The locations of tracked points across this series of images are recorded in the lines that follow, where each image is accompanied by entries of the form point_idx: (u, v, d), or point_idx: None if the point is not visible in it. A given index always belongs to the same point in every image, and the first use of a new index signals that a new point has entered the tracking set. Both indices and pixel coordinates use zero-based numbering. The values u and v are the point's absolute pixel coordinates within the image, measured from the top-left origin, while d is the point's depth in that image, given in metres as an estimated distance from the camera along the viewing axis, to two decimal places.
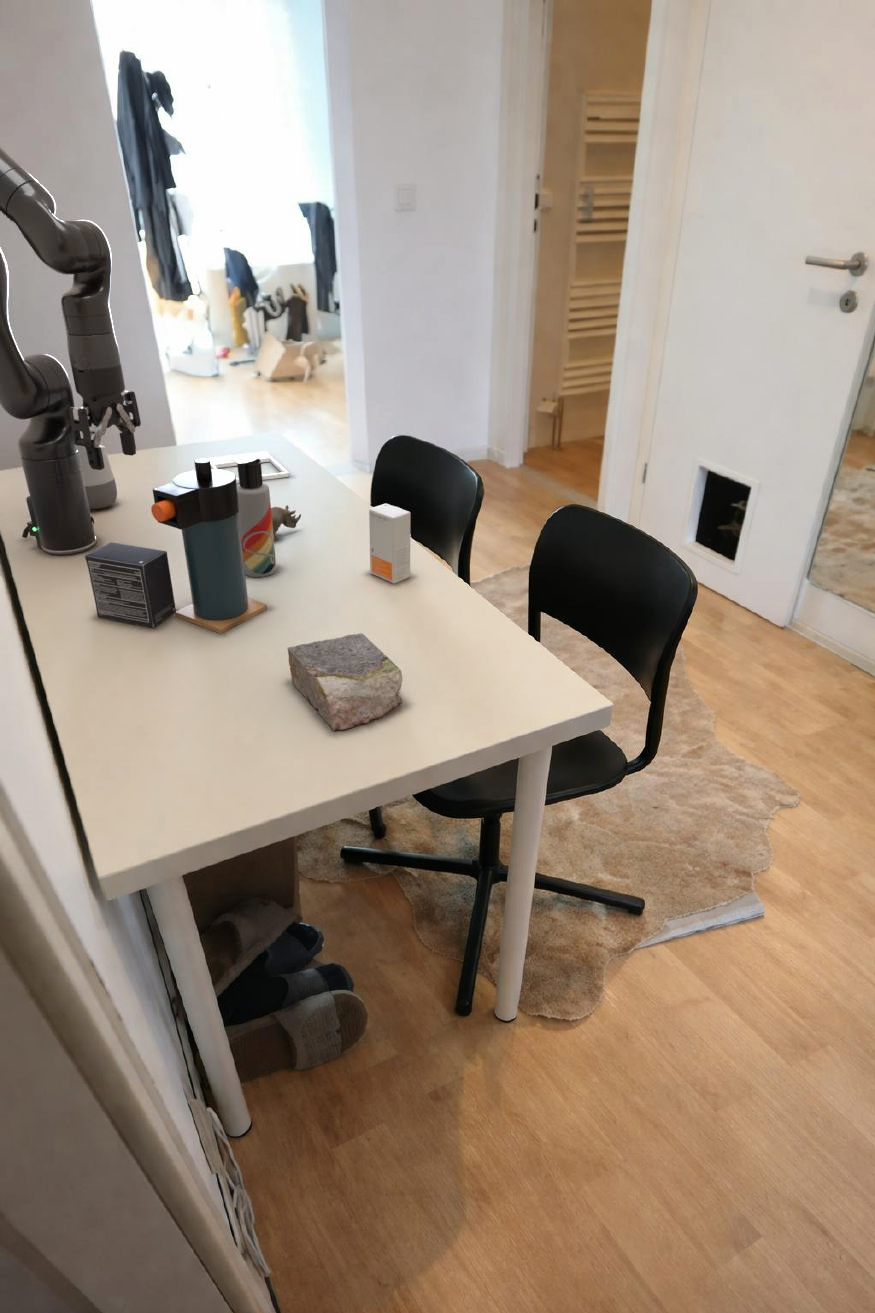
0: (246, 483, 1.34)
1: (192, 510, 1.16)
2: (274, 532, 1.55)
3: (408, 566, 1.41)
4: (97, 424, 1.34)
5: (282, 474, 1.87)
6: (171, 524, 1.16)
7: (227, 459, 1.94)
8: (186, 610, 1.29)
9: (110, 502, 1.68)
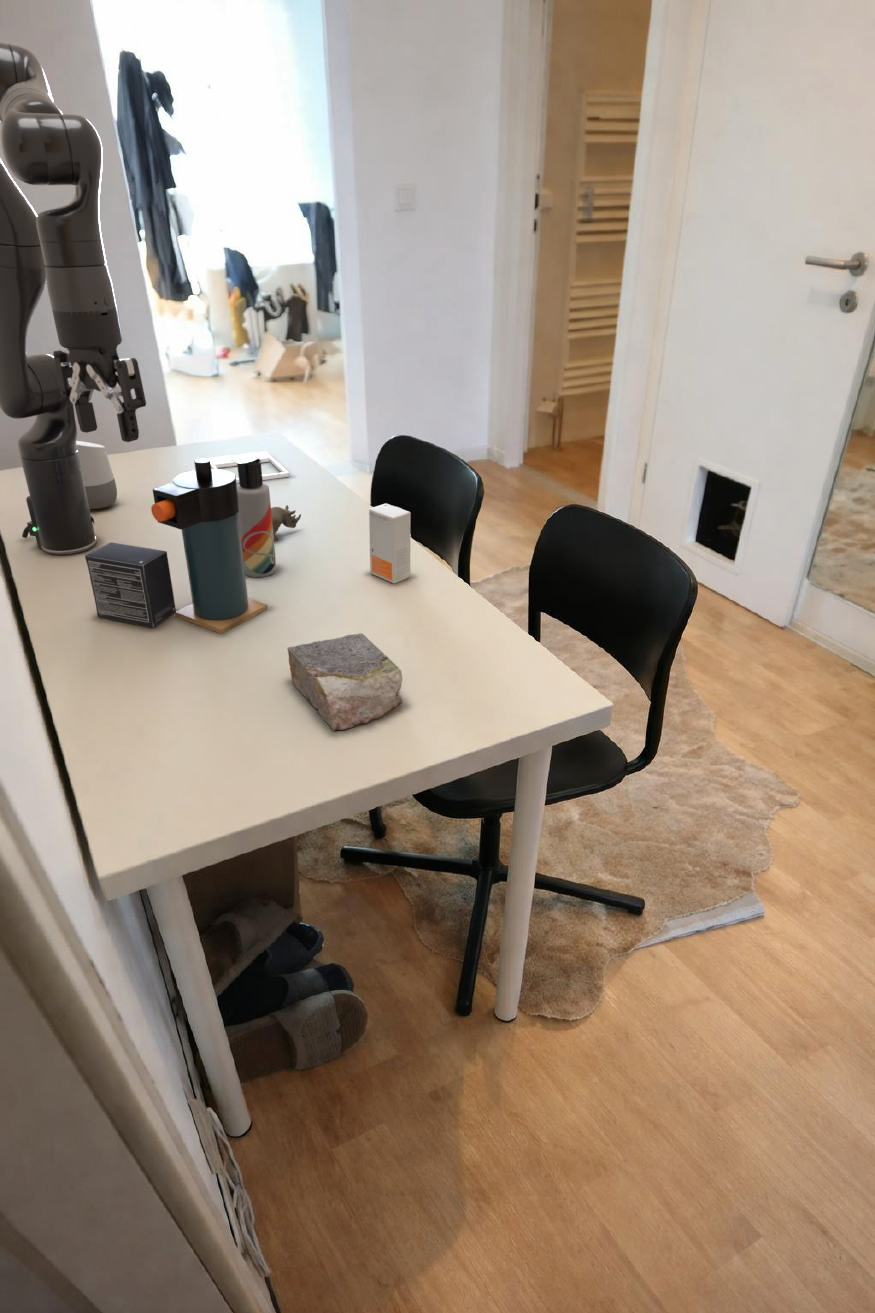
0: (246, 483, 1.34)
1: (192, 510, 1.16)
2: (274, 532, 1.55)
3: (408, 566, 1.41)
4: (112, 385, 1.06)
5: (282, 474, 1.87)
6: (171, 524, 1.16)
7: (227, 459, 1.94)
8: (186, 610, 1.29)
9: (110, 502, 1.68)
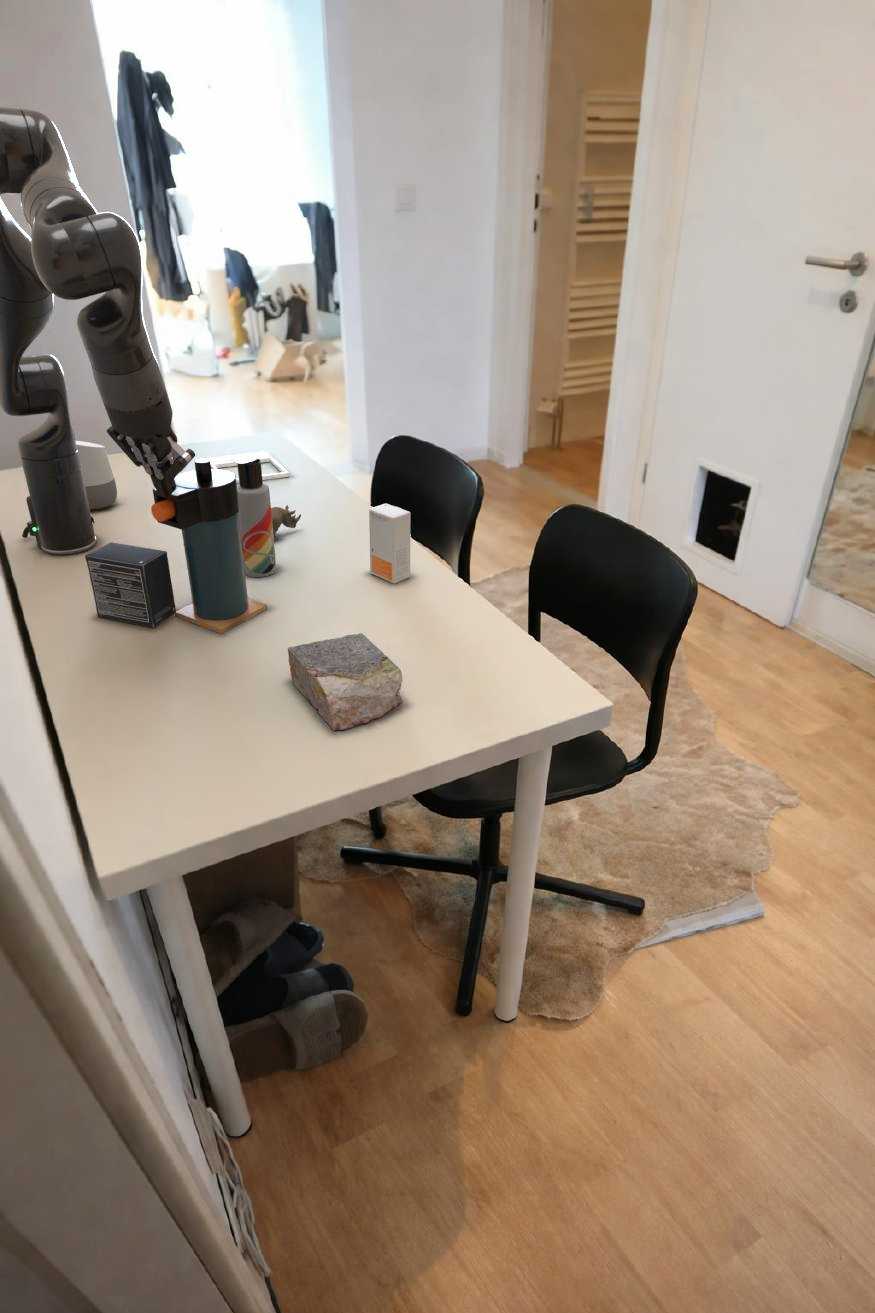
0: (246, 483, 1.34)
1: (192, 510, 1.16)
2: (274, 532, 1.55)
3: (408, 566, 1.41)
4: (168, 454, 1.06)
5: (282, 474, 1.87)
6: (171, 524, 1.16)
7: (227, 459, 1.94)
8: (186, 610, 1.29)
9: (110, 502, 1.68)
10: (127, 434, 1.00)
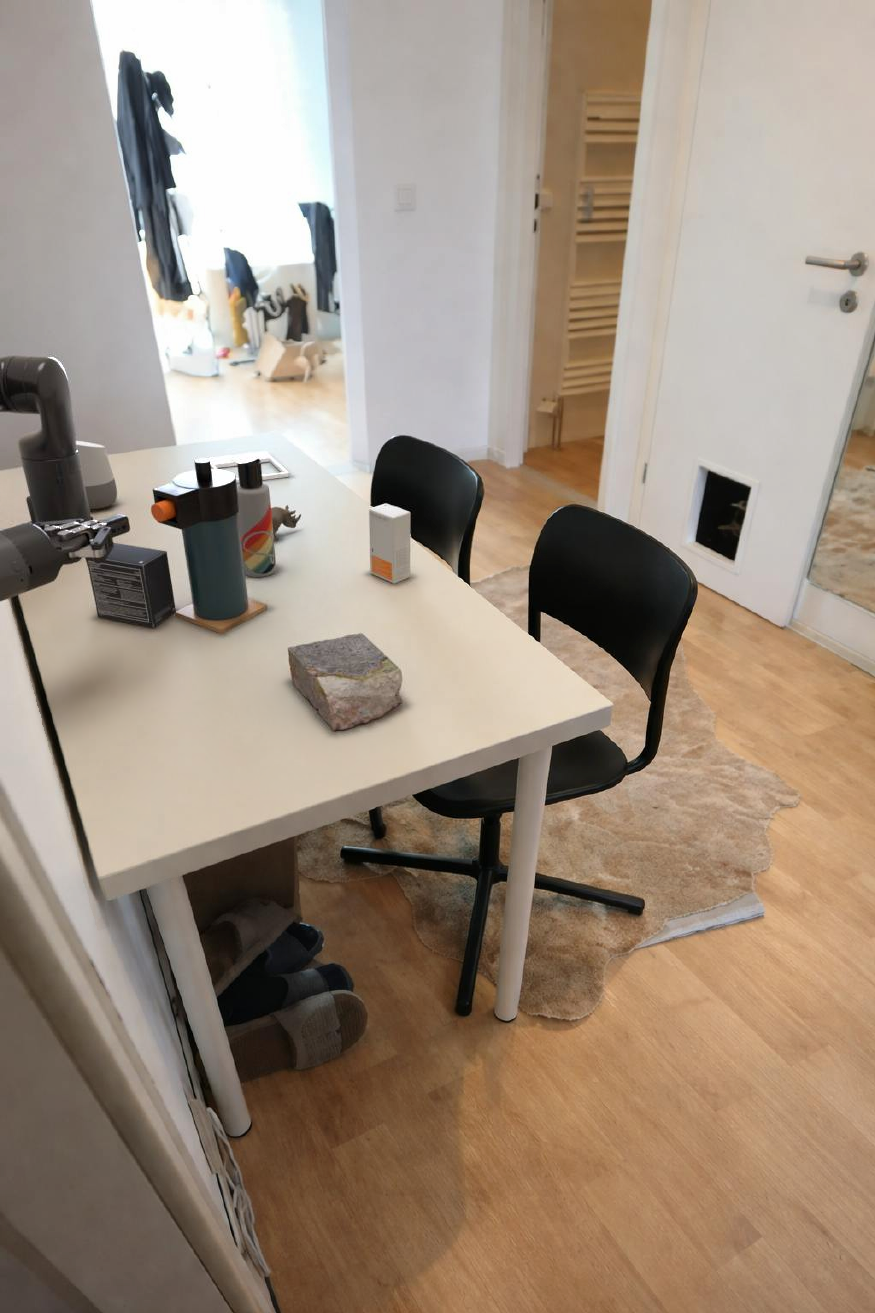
0: (246, 483, 1.34)
1: (192, 510, 1.16)
2: (274, 532, 1.55)
3: (408, 566, 1.41)
4: (87, 543, 1.02)
5: (282, 474, 1.87)
6: (171, 524, 1.16)
7: (227, 459, 1.94)
8: (186, 610, 1.29)
9: (110, 502, 1.68)
10: None
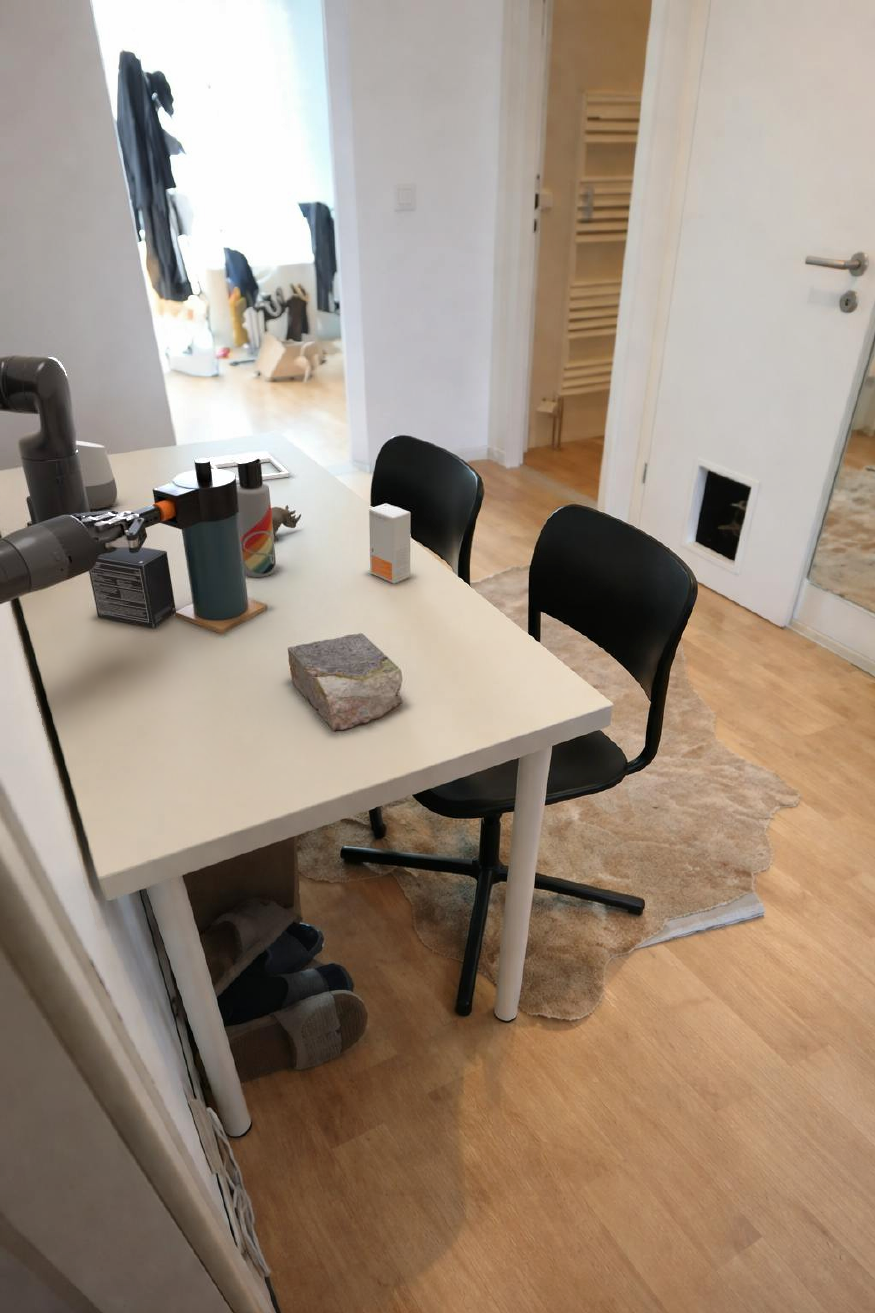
0: (246, 483, 1.34)
1: (192, 510, 1.16)
2: (274, 532, 1.55)
3: (408, 566, 1.41)
4: (122, 534, 1.07)
5: (282, 474, 1.87)
6: (171, 524, 1.16)
7: (227, 459, 1.94)
8: (186, 610, 1.29)
9: (110, 502, 1.68)
10: None
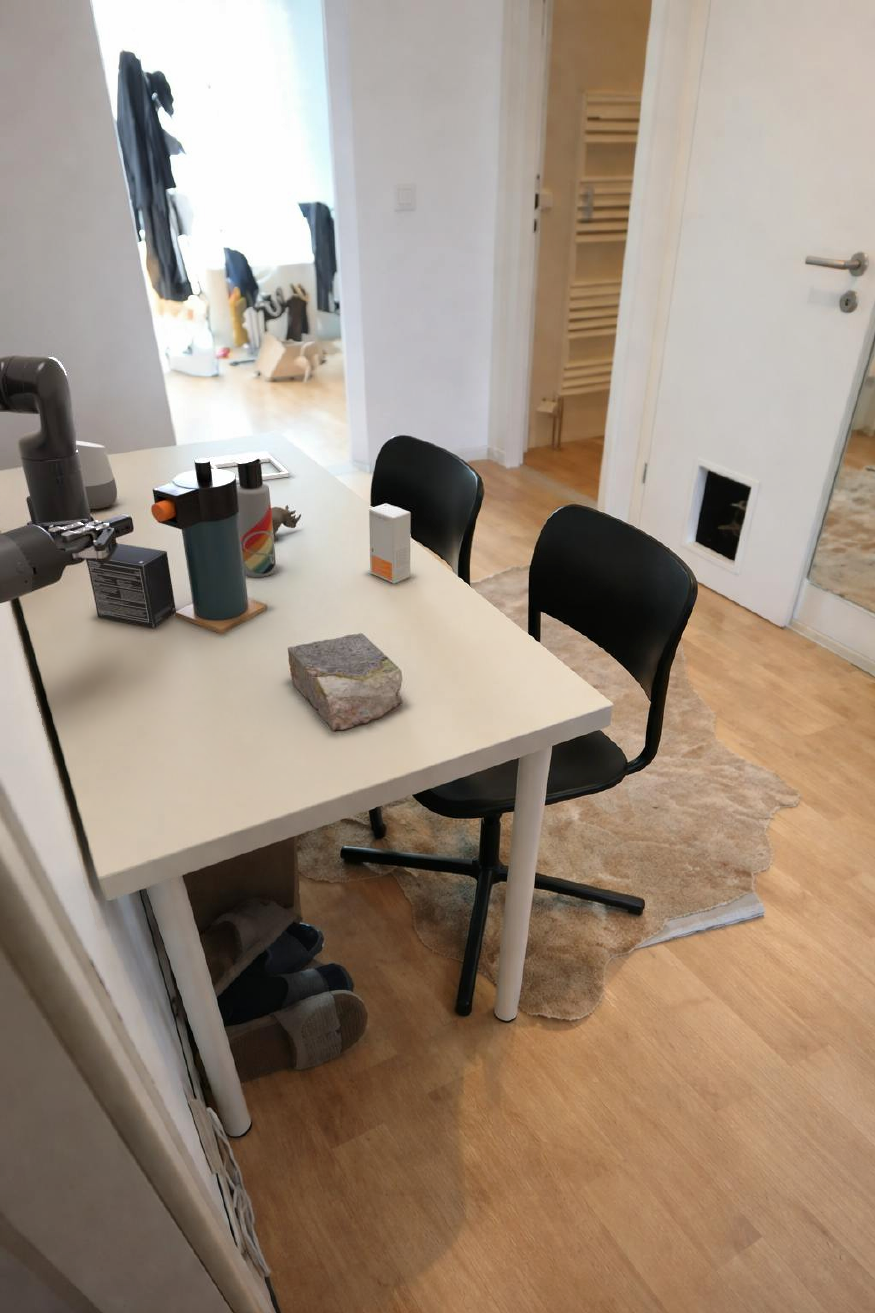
0: (246, 483, 1.34)
1: (192, 510, 1.16)
2: (274, 532, 1.55)
3: (408, 566, 1.41)
4: (90, 544, 1.03)
5: (282, 474, 1.87)
6: (171, 524, 1.16)
7: (227, 459, 1.94)
8: (186, 610, 1.29)
9: (110, 502, 1.68)
10: None
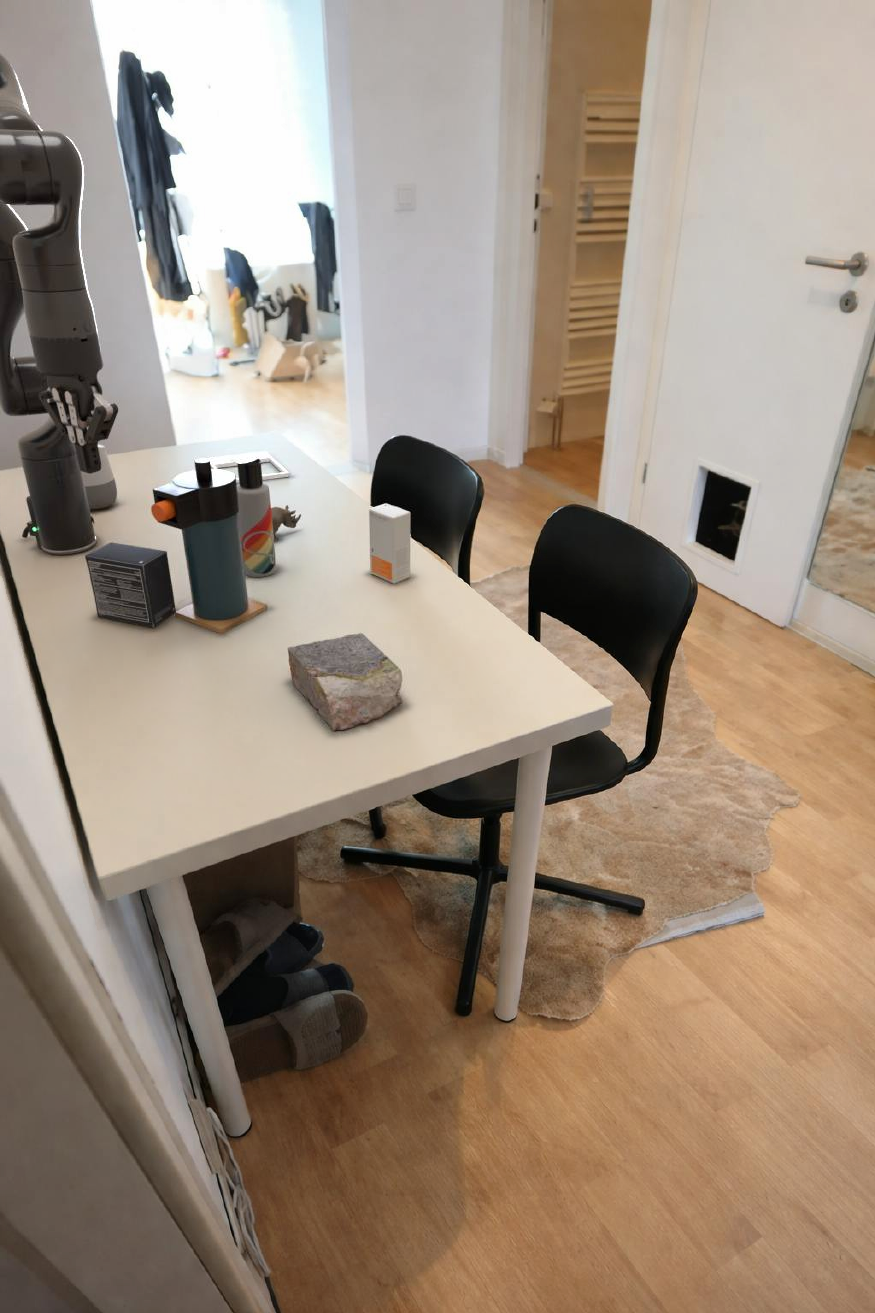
0: (246, 483, 1.34)
1: (192, 510, 1.16)
2: (274, 532, 1.55)
3: (408, 566, 1.41)
4: None
5: (282, 474, 1.87)
6: (171, 524, 1.16)
7: (227, 459, 1.94)
8: (186, 610, 1.29)
9: (110, 502, 1.68)
10: (47, 370, 0.97)
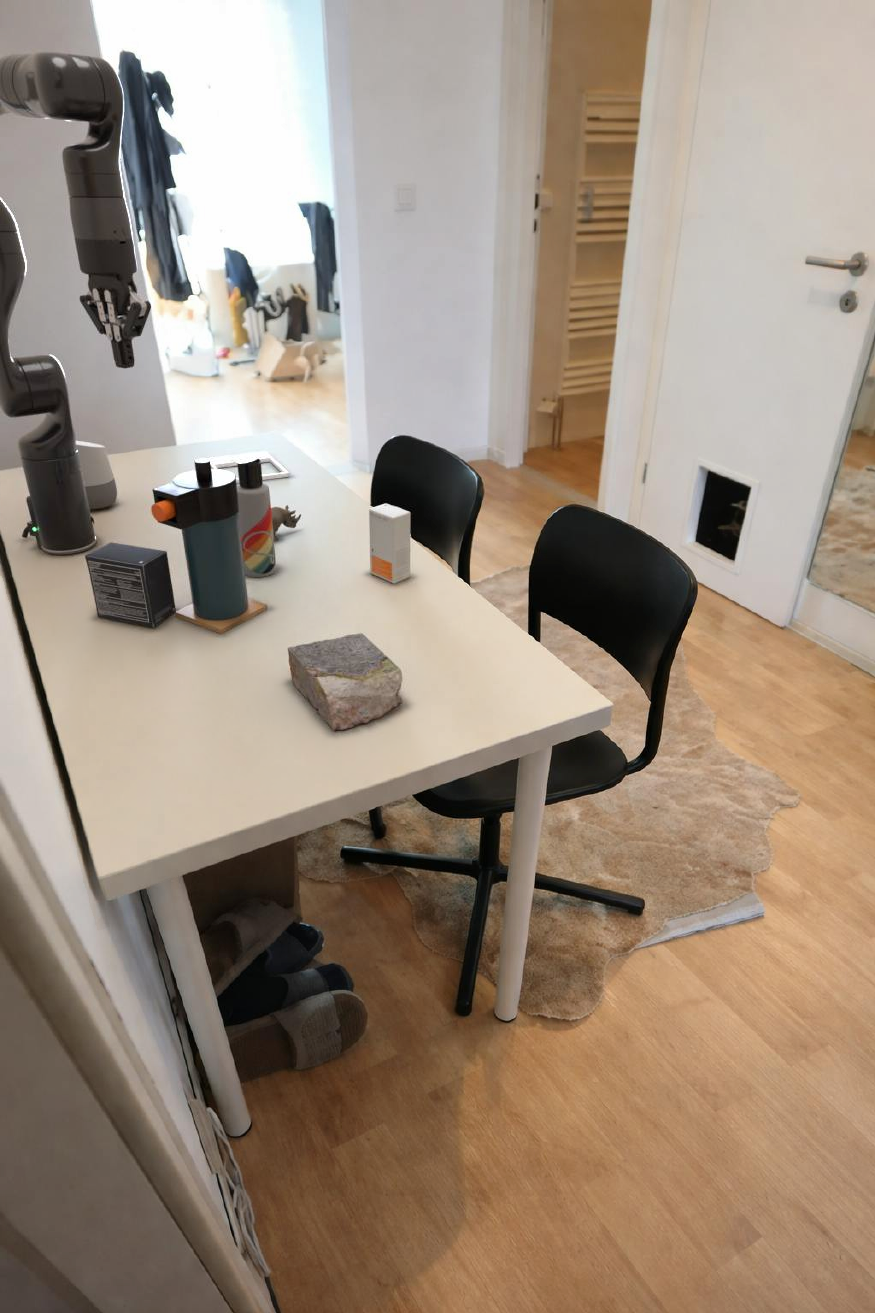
0: (246, 483, 1.34)
1: (192, 510, 1.16)
2: (274, 532, 1.55)
3: (408, 566, 1.41)
4: (128, 310, 1.16)
5: (282, 474, 1.87)
6: (171, 524, 1.16)
7: (227, 459, 1.94)
8: (186, 610, 1.29)
9: (110, 502, 1.68)
10: (90, 269, 1.11)
